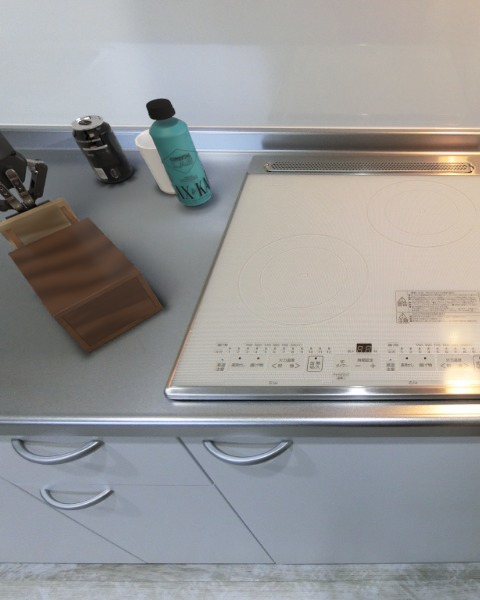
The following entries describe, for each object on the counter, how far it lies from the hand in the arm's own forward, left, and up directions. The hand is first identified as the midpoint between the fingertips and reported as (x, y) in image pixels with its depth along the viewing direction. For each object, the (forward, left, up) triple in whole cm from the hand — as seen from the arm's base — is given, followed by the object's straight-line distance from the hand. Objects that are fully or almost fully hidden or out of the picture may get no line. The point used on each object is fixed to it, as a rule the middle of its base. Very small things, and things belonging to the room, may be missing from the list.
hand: (37, 222), depth 76 cm
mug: (0, +25, -4) cm, 25 cm away
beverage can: (-11, +17, -4) cm, 21 cm away
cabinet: (+22, 0, -4) cm, 22 cm away
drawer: (+8, 0, -3) cm, 9 cm away
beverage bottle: (+10, +24, -4) cm, 26 cm away
